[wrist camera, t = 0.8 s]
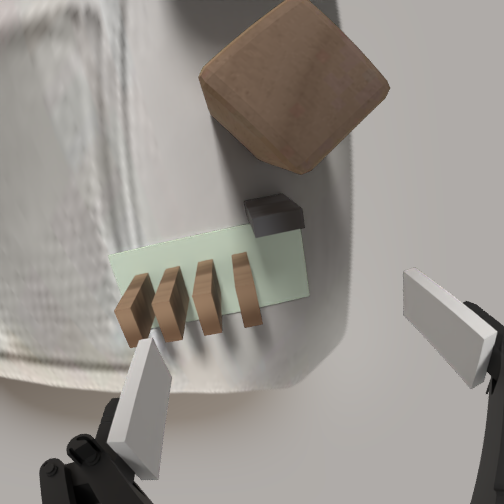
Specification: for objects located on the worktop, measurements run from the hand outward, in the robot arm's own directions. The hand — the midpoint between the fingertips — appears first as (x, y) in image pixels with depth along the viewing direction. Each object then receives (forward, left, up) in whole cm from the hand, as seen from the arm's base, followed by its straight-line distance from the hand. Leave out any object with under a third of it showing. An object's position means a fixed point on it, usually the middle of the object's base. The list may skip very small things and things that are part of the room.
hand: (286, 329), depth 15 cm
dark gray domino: (-1, +3, -27) cm, 27 cm away
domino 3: (+7, -2, -26) cm, 27 cm away
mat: (+7, -6, -27) cm, 28 cm away
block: (-13, +5, -27) cm, 30 cm away
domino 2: (+7, -6, -26) cm, 28 cm away
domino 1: (+7, -11, -26) cm, 29 cm away
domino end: (+7, -15, -26) cm, 31 cm away
